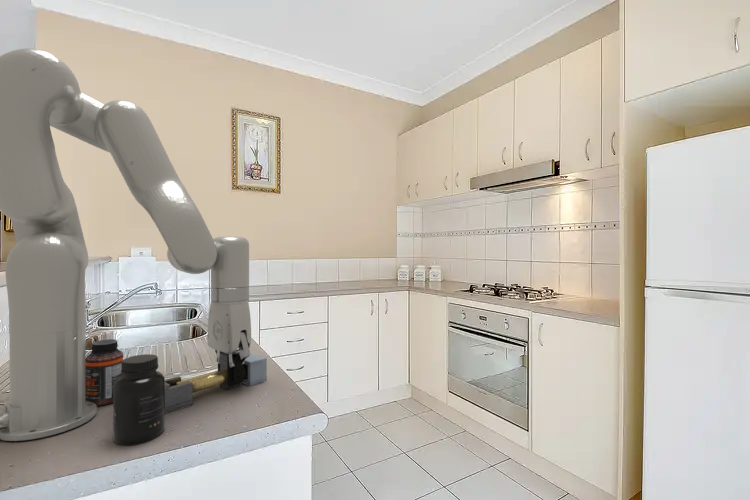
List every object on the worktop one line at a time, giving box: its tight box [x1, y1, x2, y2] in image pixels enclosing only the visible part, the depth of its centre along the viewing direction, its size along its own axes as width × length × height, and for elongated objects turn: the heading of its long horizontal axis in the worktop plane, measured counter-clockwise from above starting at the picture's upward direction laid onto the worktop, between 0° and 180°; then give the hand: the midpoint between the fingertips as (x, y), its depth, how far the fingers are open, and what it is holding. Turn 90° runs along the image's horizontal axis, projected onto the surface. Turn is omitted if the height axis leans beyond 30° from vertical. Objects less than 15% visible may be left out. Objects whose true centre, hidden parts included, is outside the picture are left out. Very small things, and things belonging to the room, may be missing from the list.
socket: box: [241, 352, 268, 387], centre depth 82 cm, size 4×6×5 cm, turn 51°
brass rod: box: [174, 353, 248, 394], centre depth 76 cm, size 16×3×7 cm, turn 141°
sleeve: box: [165, 375, 194, 414], centre depth 67 cm, size 10×6×5 cm, turn 141°
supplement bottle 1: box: [86, 338, 124, 407], centre depth 71 cm, size 6×6×11 cm
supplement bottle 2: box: [112, 353, 166, 446], centre depth 58 cm, size 7×7×12 cm
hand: (230, 381), depth 78 cm, fingers closed on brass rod, 3 cm apart
